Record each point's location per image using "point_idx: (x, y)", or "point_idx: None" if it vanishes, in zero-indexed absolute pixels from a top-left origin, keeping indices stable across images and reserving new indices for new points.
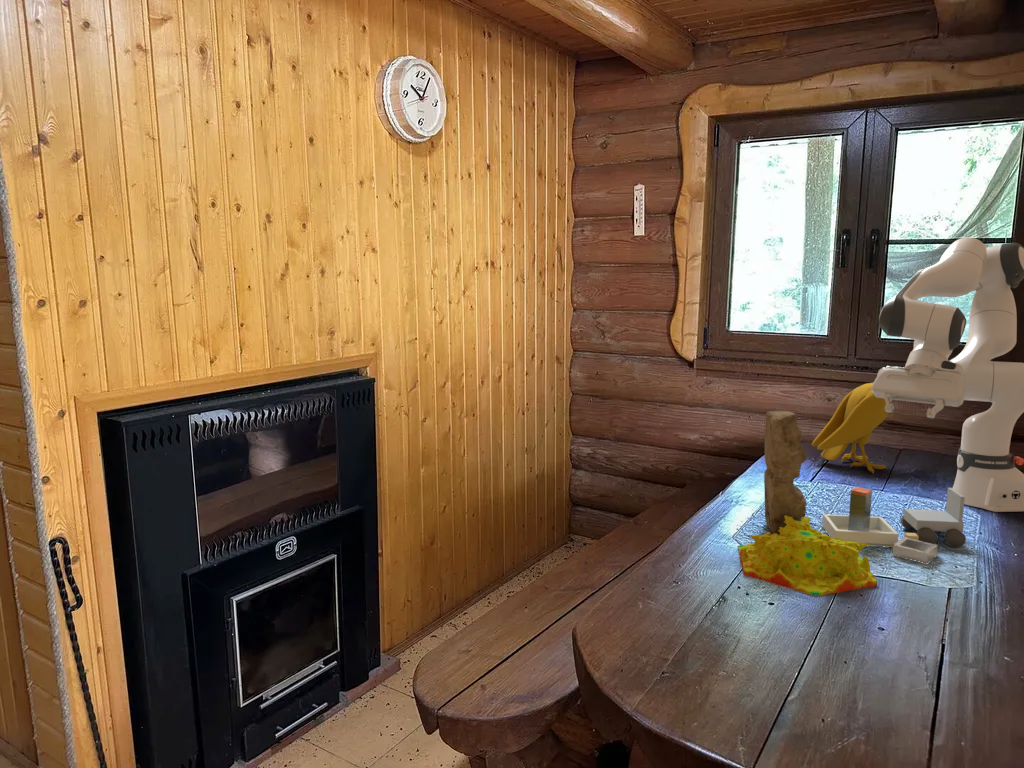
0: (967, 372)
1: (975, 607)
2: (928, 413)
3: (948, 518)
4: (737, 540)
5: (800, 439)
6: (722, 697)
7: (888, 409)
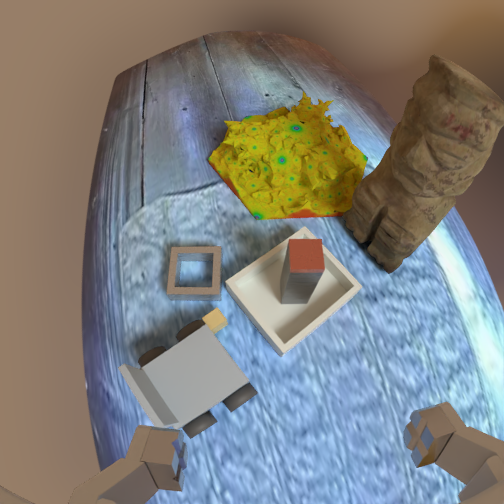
0: None
1: (119, 182)
2: (166, 428)
3: (162, 376)
4: None
5: (422, 117)
6: (232, 42)
7: (425, 408)
